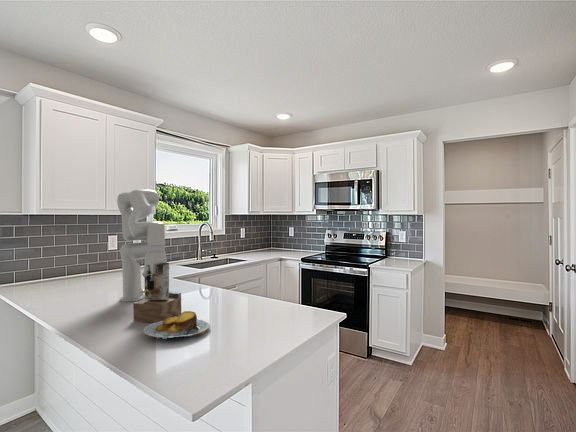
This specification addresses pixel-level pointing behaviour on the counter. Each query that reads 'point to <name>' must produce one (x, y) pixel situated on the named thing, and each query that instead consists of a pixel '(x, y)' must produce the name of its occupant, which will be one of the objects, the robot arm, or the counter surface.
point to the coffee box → (159, 283)
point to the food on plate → (177, 326)
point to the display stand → (157, 309)
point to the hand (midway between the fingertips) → (156, 287)
